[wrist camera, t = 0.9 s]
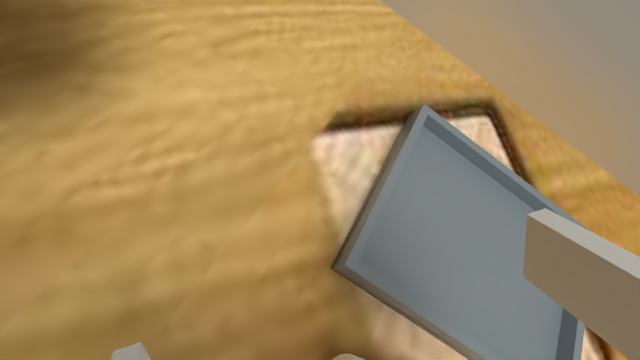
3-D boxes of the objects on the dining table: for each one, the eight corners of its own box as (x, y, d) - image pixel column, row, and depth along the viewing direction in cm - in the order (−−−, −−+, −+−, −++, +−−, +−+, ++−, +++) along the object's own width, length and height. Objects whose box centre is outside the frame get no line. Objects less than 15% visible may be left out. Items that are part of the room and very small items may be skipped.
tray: (330, 268, 26) (344, 264, 24) (408, 116, 34) (423, 103, 32) (543, 409, 29) (573, 417, 27) (570, 238, 37) (595, 234, 34)
